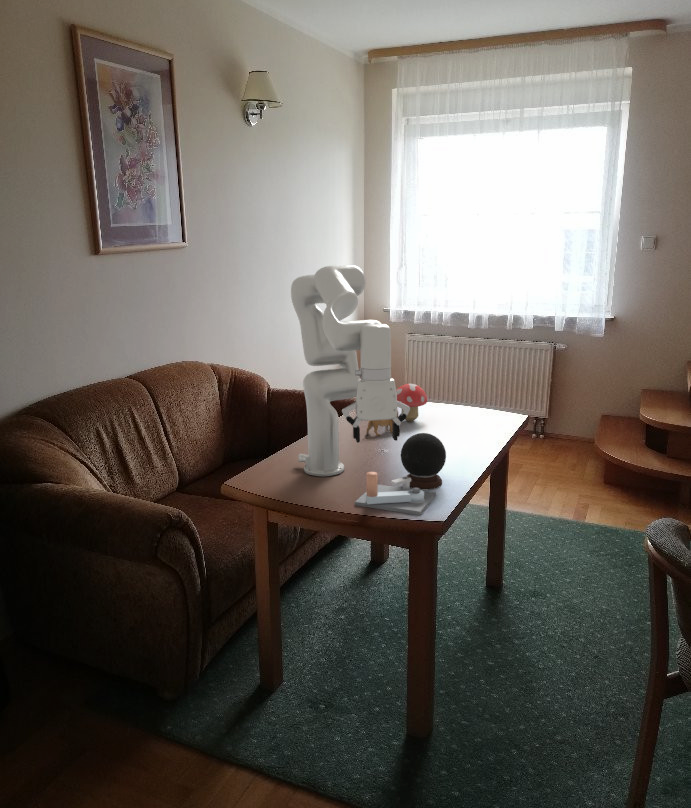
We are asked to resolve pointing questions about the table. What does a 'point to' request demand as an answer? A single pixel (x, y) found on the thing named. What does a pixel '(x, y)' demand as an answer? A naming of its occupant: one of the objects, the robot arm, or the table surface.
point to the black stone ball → (423, 460)
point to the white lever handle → (389, 493)
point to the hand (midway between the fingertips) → (376, 440)
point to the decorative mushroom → (411, 399)
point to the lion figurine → (381, 423)
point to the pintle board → (402, 507)
